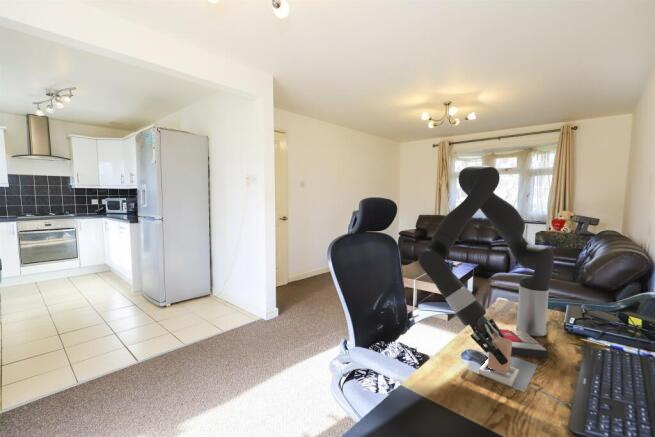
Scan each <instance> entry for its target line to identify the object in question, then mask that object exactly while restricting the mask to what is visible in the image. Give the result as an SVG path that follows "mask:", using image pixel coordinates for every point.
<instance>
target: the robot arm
mask: <svg viewBox="0 0 655 437" xmlns="http://www.w3.org/2000/svg"><path fill="white" fill-rule="evenodd" d="M500 177H501V176H500V173H499V170H498V169H497V168H496V167H494V166H491V165H490V166H489V165H472V166H471V165H470V166H467V167H464V168H463V169H462V170H460V171H459V174H458V177H457V178H458V184H459V187H460V189H461V191H463V193H465V194H466V195H467V196H466V197H465V199H464V200H463V201H461V203H459V205H458V206H456V207H454V208H453V209H452V210H451V211H450V212H449V213H448V214H446V215H445V217H443V218H442V220H441V221H440V223H439V225H438V226H437V228H436V229H435V231H434V233H433V235H432V237H431V241H430V243H429V245H428V246H427V249H423V250H422V251H421V252H419V255H418V259H417V260H418V264H419V266H420V268H422V270H423V271H424V272H425V273H426V275H427V276H428V277H429V278H430V280H432V282H433V283H434V285H435V286H436V288H437V290H438V291H439V292H440V294H441V295H442V296H443V298H444V299H445V300H446V302H447V303H448V305H449V307H450V308H451V310H452V311H453V313H454V314H455V315H456V317H457V318H458V319H459V320H460V322H461V323H462V325H463V326H466V327H467V326H470V328H471V330H472V332H473V333H471V334H470V338H472V340H473V341H474V342H475V343H476V344H477V345H478V346H479V348H480V349H482V350H483V352H484V351H485V352H486V353H487V352H490V353H492V354H493V355H494V356H495V358H496V359H497V360H498V362H499V363H500V364H501V365H504V364H506V363H507V362H508V359H507V358H506V357H505V356H504V355H503V353H502V352H501V351H500V350H499V349H498V347H497V345H496V344H495V343H494V337H493V336H497V337H502V338H504V336H503V334H502V333H501V331H500V329H501V328H499V326H498V325H497V323H496V322H495V320H494V319H493V318H490V319H488V318H486V317H485V315H486V314H487V311H486V309H485V308H484V307H483V306H482V304H481V303H480V301H479V300H478V299H477V298H476V297H475V296H474V294H473V293H472V292H471V291H470V290H469V289H468V288H467V287H466V286H465V285H464V284H463V282H462V281H461V280H460V279H459V277H458V276H457V275H456V274H455V273H453V271H452V269H451V268H450V267H449V265H448V264H447V262H446V259H447V257H448V254H449V253H450V251H451V249H452V248H453V246H454V245H455V243H456V242H457V240H458V239H459V237H460V235H461V234H462V232H463V231H464V229H465V227H466V226H467V224H468V223H469V222H470V220H471V219H472V218H473V217H474V215H476V213H477V212H478V210H480V211H481V212H482V213H483V215H484V216H485V217H486V218H487V220H488V221H489V223H490V225H491V226H492V227H493V228H494V229H495V231H496V232H497V233H498V235H499V236H500V238H502V240H503V241H504V243H505V244H506V245H507V247H508V248H509V250H510V252H511V254H512V256H513V258H514V259H515V261H516V262H517V263H518V264H519V266H520V267H522V268H525V269H529V270H534V272H533V274H532V275H531V276H523V277H521V278H520V279H519V286H518V288H519V289H518V298H517V299H518V302H517V303H518V304H517V316H516V329H517V331H525V332H526V333H527V334H529V335H530V336H531V337H532V336H533V337H543V336H546V332H547V331H546V330H547V318H548V308H549V307H548V304H549V292H550V291H549V290H550V285H551V282H552V277H553V271H554V263H555V254H554V251H553V249H552V248H550V247H547V246H543V245H536V244H531V243H529V242H528V241H526V240H525V238H524V236H523V234H524V233H525V229H526V223H525V220H524V219H523V217H522V215H521V214H520V212H519V211H518V210H517V208H516V207H514V206H513V205H512V204H511V203H510V202H508V201H506V200H505V199H503V198H502V197H500V196H499V195H497V194H496V193H495V191H496V189H497V188H498V185H499V183H500ZM490 342H491V343H490ZM511 356H514V355H513V353H512V352H511Z"/></svg>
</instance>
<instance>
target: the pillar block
mask: <svg viewBox="0 0 655 437" xmlns="http://www.w3.org/2000/svg"><path fill="white" fill-rule="evenodd" d="M493 337H494V343H495V344H496V345H497V347H498V349H499V350H500V351H501V352H502V353H503V355H504V356H505V357H506V358H507V359H508V362H507V363H506V364H504V365H501V364H500V363H499V362H498V360H497V359H496V358H495V356H494V355H493V354H492V353H490V352H489V357H488V368H490V369H493V370H495V371H498V372H500V373H503V374H507V372H508V371H509V369H510V363H511V350H512V341H511V340H508V339H505V338H502V337H497V336H493ZM490 343H491V342H490Z"/></svg>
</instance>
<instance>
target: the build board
mask: <svg viewBox="0 0 655 437" xmlns="http://www.w3.org/2000/svg"><path fill="white" fill-rule="evenodd" d="M482 353H483V354H484V355H486V356H487V357H489V352H487V353H486V352H485V351H484V350H483V351H482ZM487 366H488V359H487V360H486V361H485V363H484V364H483V365H482V366H481V367H480V366H478V365H476V364H474V362H472V363H471V365H470V366H469V367H468V368H467V370H468V371H470V372H472V373H475V374H477V375H480V376H481V377H485V378H488V379H490V380H492V381H494V382H497V383H500V384H502V385H504V386H507V387H510V388H512V389H515V390H518V391H519V392H523V393H525V392H526V390H527V388H528V385H529V384H530V382H531V380H532V378H533V376H534V374H535V372H536V370H537V368H538V366H539V364H537V363H534V362H530V361H528V360H525V359H522V358H518V357H516V356H514V355H512V356H511V363H510V369H509V371H508V372H507V374H503V373H500V372H498V371H490V370H486V367H487Z"/></svg>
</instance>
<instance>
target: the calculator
mask: <svg viewBox="0 0 655 437" xmlns="http://www.w3.org/2000/svg"><path fill="white" fill-rule="evenodd" d="M499 329H500V331H501V333H502V334H503V336H504V338H505V339H508V340H511V341H512V350H511V352H512V353H513V355H512V356H522V357H523V356H524V357H534V358H540V359H541V358H542V359H549V350H547V349H546V348H545V347H544V346H543V345H542V344H540V342H539V341H537V340H536V339H535V338H533V337H532V335H529V334H527V333H526V332H525V331H519V330H516V329H515V330H513V329H511V330H510V329H503V328H499Z"/></svg>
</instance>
